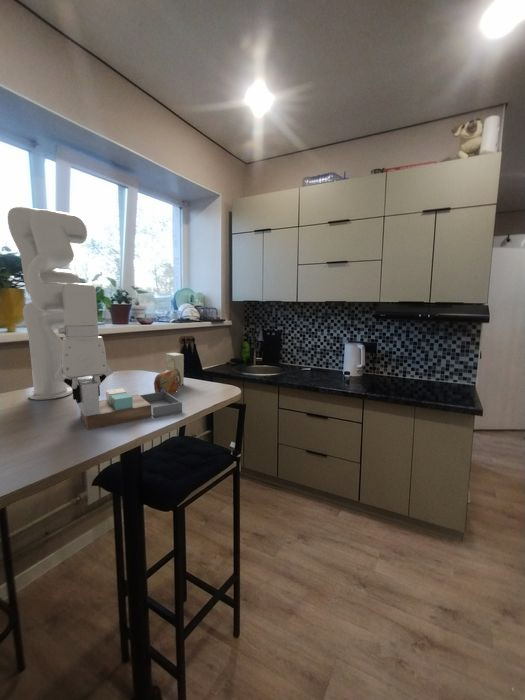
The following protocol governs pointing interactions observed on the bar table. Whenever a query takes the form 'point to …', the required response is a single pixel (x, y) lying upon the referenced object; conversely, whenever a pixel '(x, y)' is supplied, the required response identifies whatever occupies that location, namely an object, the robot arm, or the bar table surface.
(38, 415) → the bar table surface
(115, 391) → the tile white
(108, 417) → the board
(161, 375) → the tin
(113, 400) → the teal block
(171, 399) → the box
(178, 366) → the skincare box
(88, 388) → the grey rectangular block
